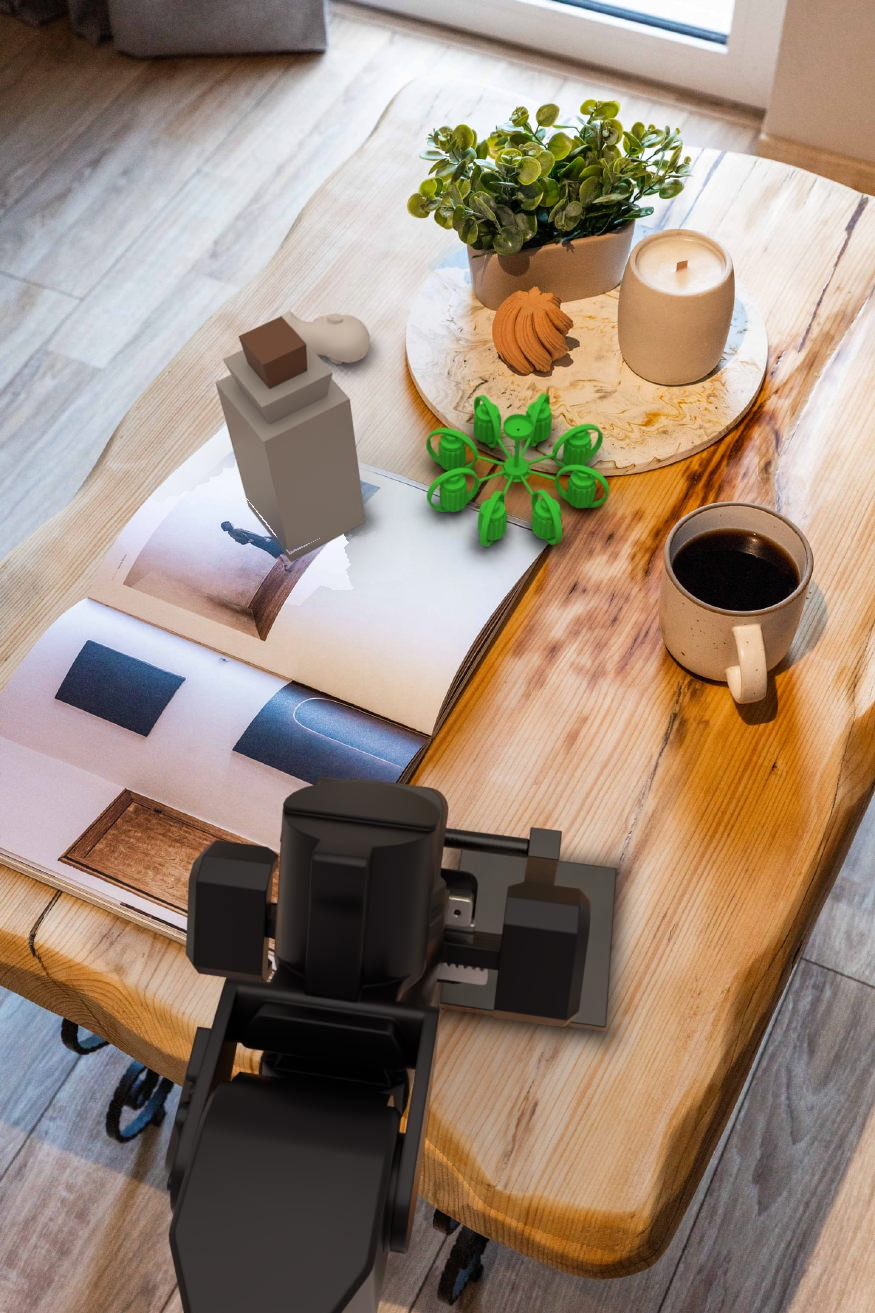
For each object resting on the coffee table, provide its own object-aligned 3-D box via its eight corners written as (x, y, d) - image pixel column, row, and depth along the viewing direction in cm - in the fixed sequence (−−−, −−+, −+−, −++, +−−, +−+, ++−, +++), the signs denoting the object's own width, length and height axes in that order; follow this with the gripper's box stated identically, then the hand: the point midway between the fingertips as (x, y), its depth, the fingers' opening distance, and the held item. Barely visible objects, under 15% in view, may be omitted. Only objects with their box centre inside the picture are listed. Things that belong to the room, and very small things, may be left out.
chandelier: (557, 394, 94) (563, 331, 88) (643, 522, 86) (656, 462, 80) (392, 450, 91) (387, 389, 85) (468, 587, 84) (467, 530, 78)
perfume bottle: (365, 522, 87) (343, 348, 72) (291, 562, 85) (252, 392, 70) (320, 468, 90) (290, 290, 75) (248, 506, 88) (202, 331, 73)
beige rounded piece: (376, 351, 98) (363, 378, 95) (288, 340, 99) (272, 366, 95) (376, 305, 96) (363, 330, 92) (286, 293, 96) (270, 318, 93)
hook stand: (604, 1032, 66) (639, 954, 53) (310, 989, 68) (271, 903, 55) (614, 874, 72) (649, 766, 58) (341, 838, 73) (313, 725, 60)
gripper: (610, 864, 43) (601, 741, 58) (142, 802, 44) (252, 699, 60) (576, 1115, 45) (576, 936, 60) (136, 1048, 47) (242, 889, 62)
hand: (411, 861), depth 61 cm, fingers closed
